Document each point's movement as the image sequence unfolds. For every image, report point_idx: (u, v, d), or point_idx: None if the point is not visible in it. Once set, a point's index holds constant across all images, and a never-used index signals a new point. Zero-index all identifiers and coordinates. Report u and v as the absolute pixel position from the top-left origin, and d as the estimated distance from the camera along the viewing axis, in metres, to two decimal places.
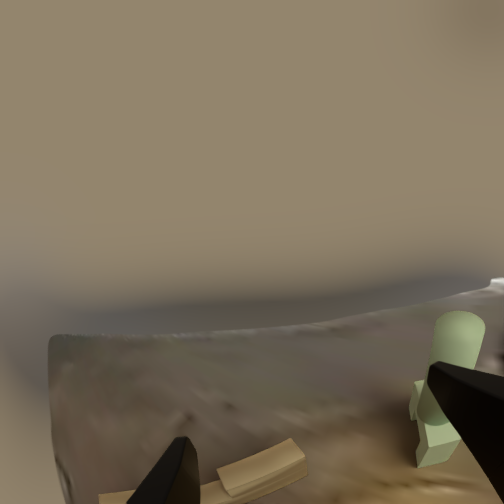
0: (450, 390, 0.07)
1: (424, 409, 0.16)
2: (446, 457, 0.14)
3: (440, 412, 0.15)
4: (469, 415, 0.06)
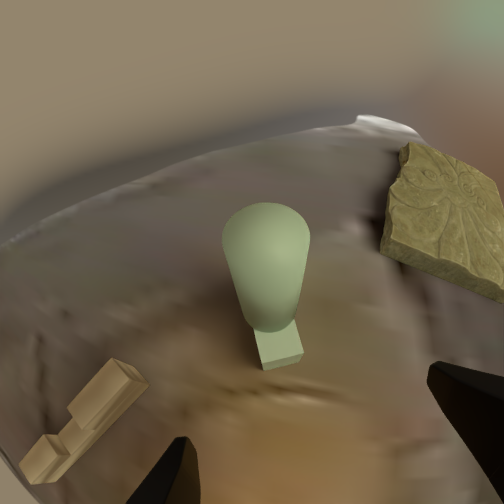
0: (450, 390, 0.07)
1: (246, 316, 0.18)
2: (295, 361, 0.21)
3: (266, 324, 0.18)
4: (469, 415, 0.06)
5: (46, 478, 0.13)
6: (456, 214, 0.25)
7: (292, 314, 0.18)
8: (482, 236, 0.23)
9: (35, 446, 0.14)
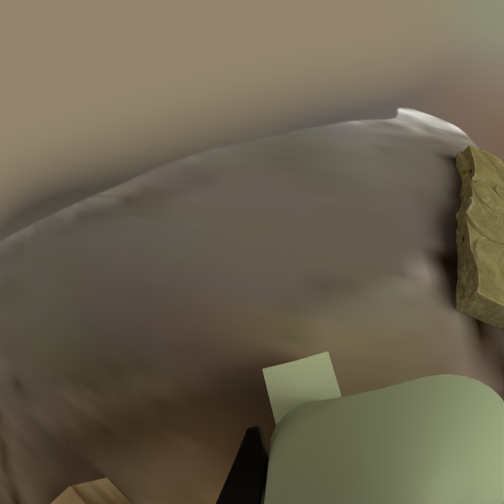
0: None
1: None
2: None
3: None
4: None
5: None
6: None
7: None
8: None
9: None
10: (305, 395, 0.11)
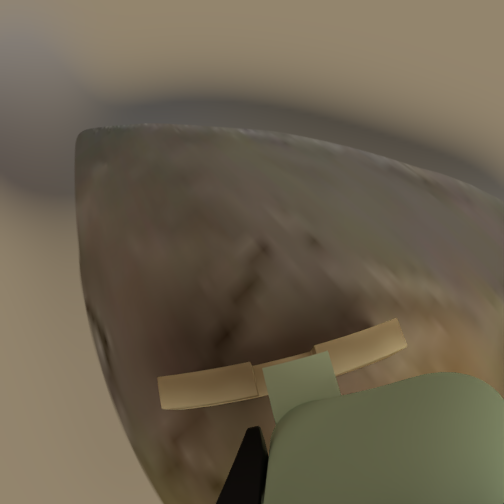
0: None
1: None
2: None
3: None
4: None
5: (187, 407, 0.18)
6: None
7: None
8: None
9: (219, 370, 0.18)
10: (305, 394, 0.11)
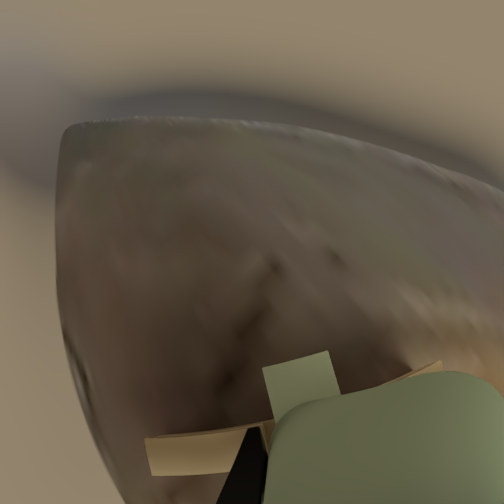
0: None
1: None
2: None
3: None
4: None
5: None
6: None
7: None
8: None
9: (222, 435, 0.12)
10: (305, 394, 0.11)
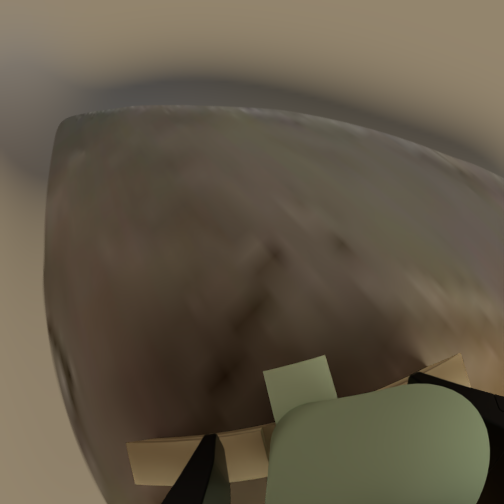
0: None
1: None
2: None
3: None
4: None
5: None
6: None
7: None
8: None
9: None
10: (303, 396, 0.11)
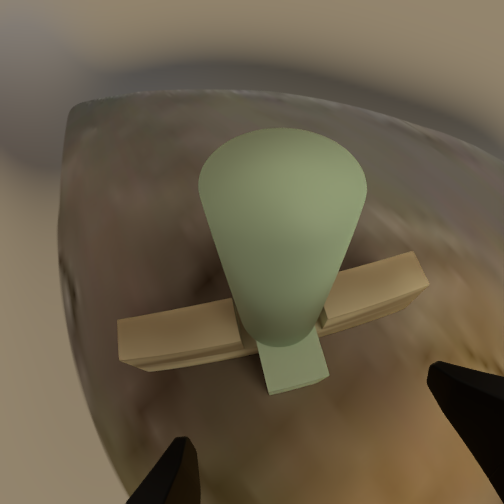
0: (450, 390, 0.07)
1: (245, 324, 0.12)
2: (313, 383, 0.15)
3: (276, 337, 0.11)
4: (469, 415, 0.06)
5: (153, 363, 0.14)
6: None
7: (315, 321, 0.12)
8: None
9: (192, 309, 0.14)
10: None
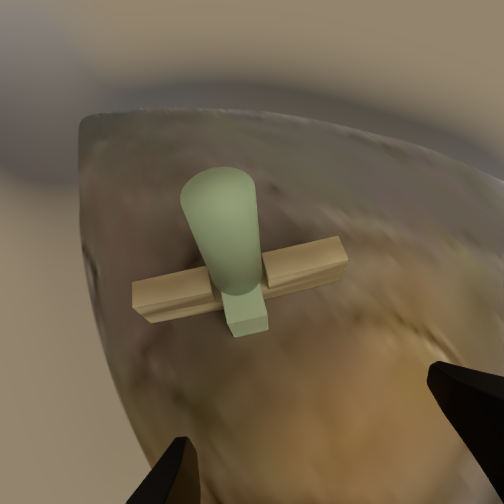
0: (450, 390, 0.07)
1: (212, 278, 0.20)
2: (264, 328, 0.23)
3: (230, 284, 0.19)
4: (469, 415, 0.06)
5: (155, 312, 0.22)
6: None
7: (254, 275, 0.20)
8: None
9: (182, 272, 0.22)
10: None
